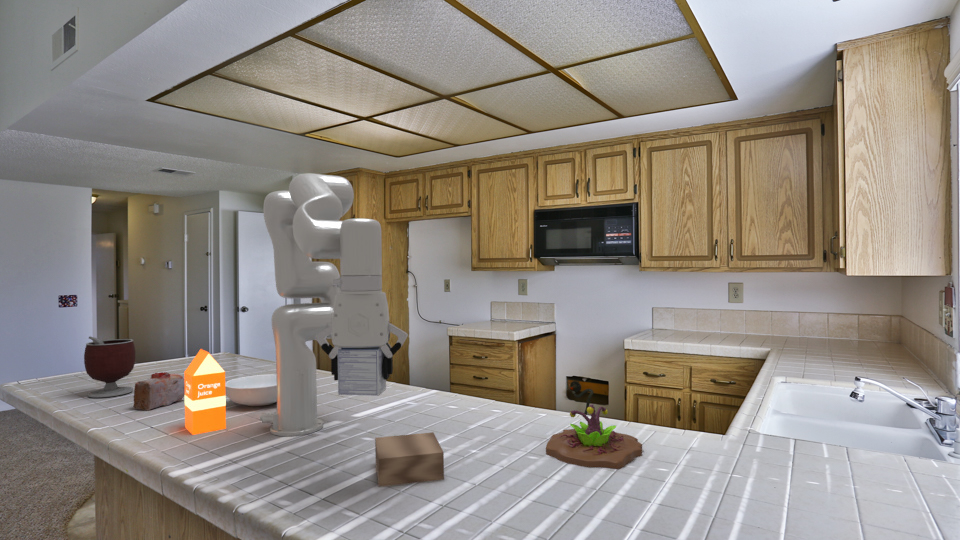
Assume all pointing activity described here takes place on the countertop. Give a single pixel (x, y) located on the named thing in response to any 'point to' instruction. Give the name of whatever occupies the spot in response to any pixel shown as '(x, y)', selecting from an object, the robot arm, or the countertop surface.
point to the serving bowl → (253, 390)
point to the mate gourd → (109, 364)
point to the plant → (593, 444)
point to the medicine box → (361, 371)
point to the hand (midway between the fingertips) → (362, 378)
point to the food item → (158, 391)
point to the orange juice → (204, 395)
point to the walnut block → (408, 459)
